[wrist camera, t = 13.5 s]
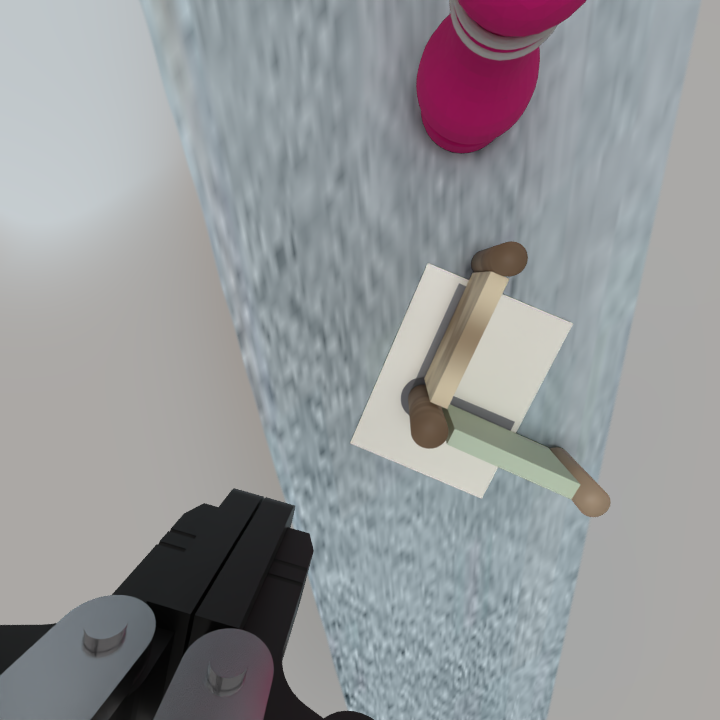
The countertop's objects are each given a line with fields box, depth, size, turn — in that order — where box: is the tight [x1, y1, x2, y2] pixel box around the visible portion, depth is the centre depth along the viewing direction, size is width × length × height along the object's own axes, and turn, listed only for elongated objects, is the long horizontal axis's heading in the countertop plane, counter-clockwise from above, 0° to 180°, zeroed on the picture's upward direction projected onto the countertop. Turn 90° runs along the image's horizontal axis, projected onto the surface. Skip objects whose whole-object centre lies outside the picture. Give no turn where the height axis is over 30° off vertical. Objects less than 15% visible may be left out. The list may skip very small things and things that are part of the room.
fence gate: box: [442, 404, 610, 517], centre depth 31 cm, size 11×2×7 cm, turn 67°
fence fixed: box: [408, 242, 528, 449], centre depth 30 cm, size 14×2×8 cm, turn 158°
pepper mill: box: [416, 0, 586, 153], centre depth 21 cm, size 7×7×20 cm
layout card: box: [350, 263, 573, 499], centre depth 34 cm, size 16×12×1 cm
